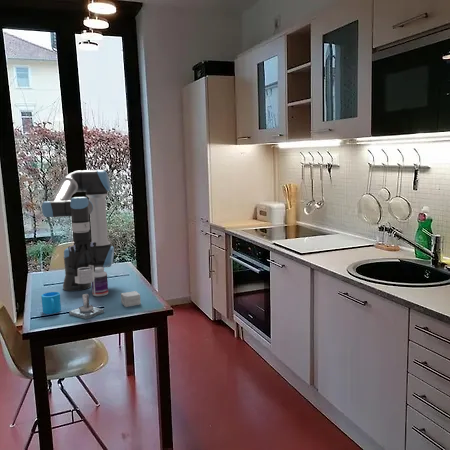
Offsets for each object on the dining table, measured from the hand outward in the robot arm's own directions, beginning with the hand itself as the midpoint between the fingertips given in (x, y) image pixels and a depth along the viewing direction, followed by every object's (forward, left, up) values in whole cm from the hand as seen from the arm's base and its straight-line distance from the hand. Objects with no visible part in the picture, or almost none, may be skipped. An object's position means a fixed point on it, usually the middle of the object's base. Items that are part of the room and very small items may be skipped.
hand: (85, 280), depth 207 cm
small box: (+7, +21, -16) cm, 27 cm away
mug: (-16, -7, -16) cm, 23 cm away
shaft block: (0, 0, -15) cm, 15 cm away
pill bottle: (-18, +23, -16) cm, 33 cm away
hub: (0, 0, 0) cm, 0 cm away
